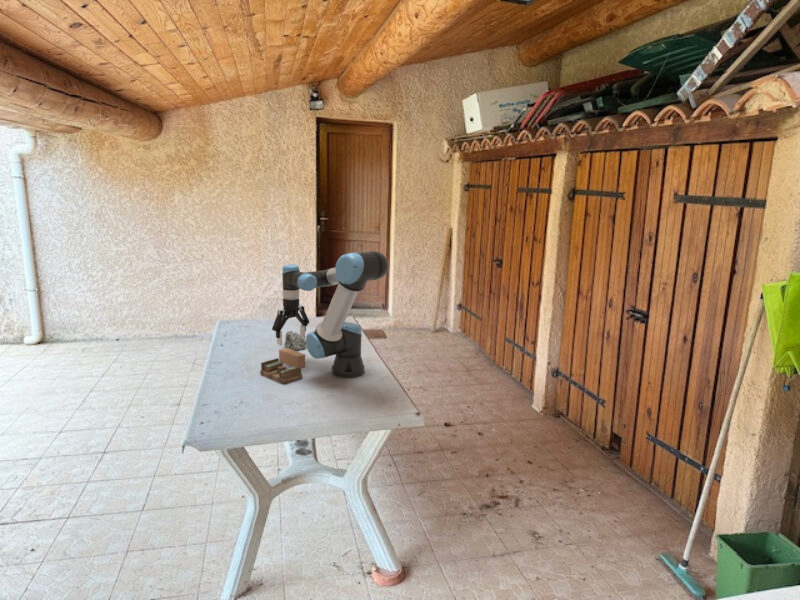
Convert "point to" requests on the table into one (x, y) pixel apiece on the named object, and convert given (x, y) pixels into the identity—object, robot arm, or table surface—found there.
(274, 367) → the stand
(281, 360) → the tan rectangular block
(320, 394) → the table surface
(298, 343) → the rock
